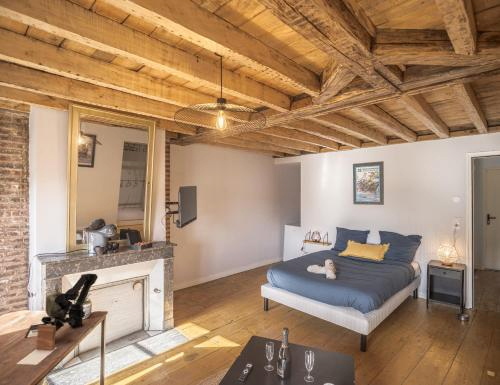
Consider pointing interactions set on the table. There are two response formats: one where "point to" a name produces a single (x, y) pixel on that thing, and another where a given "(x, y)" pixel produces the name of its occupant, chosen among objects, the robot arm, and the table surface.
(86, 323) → the table surface
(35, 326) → the chocolate bar
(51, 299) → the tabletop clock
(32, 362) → the white mat
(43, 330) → the walnut tile
